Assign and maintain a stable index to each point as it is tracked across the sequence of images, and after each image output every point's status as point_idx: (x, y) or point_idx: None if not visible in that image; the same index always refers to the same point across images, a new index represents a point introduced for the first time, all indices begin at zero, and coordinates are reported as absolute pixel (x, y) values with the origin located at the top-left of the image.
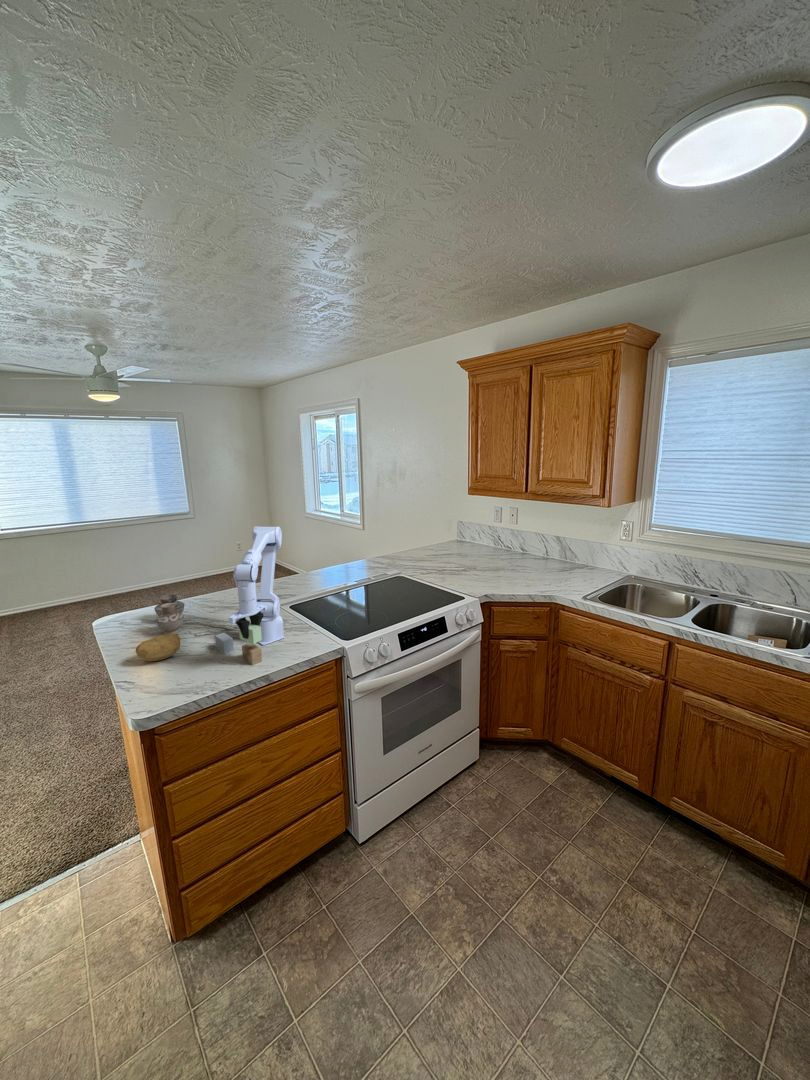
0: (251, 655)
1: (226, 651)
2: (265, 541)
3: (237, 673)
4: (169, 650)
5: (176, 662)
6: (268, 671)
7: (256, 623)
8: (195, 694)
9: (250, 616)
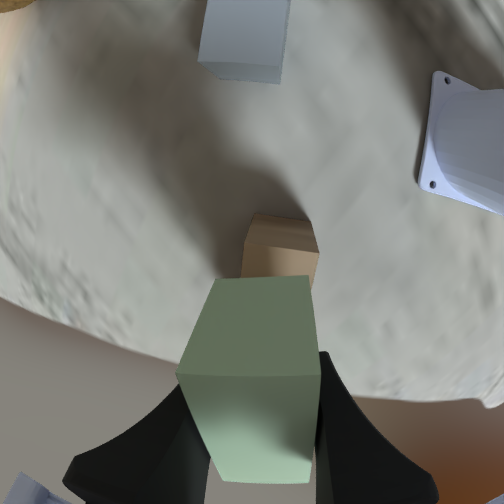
0: None
1: (231, 78)
2: None
3: (162, 309)
4: (15, 3)
5: (54, 27)
6: None
7: (316, 474)
8: (37, 297)
9: (327, 499)
